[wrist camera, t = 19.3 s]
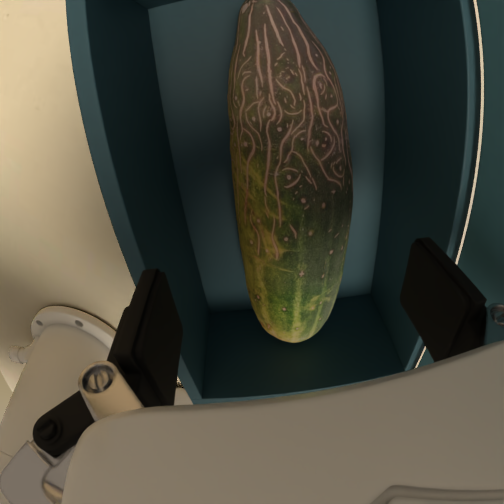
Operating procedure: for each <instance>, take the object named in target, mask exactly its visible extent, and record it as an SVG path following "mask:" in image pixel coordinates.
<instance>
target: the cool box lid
mask: <svg viewBox="0 0 504 504" xmlns="http://www.w3.org/2000/svg"><path fill="white" fill-rule="evenodd" d="M477 6H478V12H479V19H480V27H481V36H482V47H483V62H484V116H483V132H482V144H481V153H480V161H479V169H478V176H477V182H476V188H475V194H474V199H473V204H472V209H471V214H470V219H469V223H468V227H467V231H466V235H465V239H464V243H463V247H462V251H461V254H460V258H459V261H458V265H457V266H458V267H459V268H460V269H461V270H462V271H463V272H464V274H465V275H466V276H467V277H468V278H469V279H470V280H471V281H472V282H473V284H474V285H475V286H476V287H477V288H478V289H479V291H480V292H481V293H482V294H483V295H484V296H485V298H486V299H487V301H486V303H485V306H486V307H488V306H489V305H490V304H492V303H502V304H504V0H477ZM431 363H435V362H434V361H433V359H432V357H431V355H430V353H429V351H428V350H427V348H426V350H425V352H424V354H423V356H422V359H421V361H420V363H419V365H418V367H422V366H425V365H428V364H431ZM418 367H417V368H418Z"/></svg>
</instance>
